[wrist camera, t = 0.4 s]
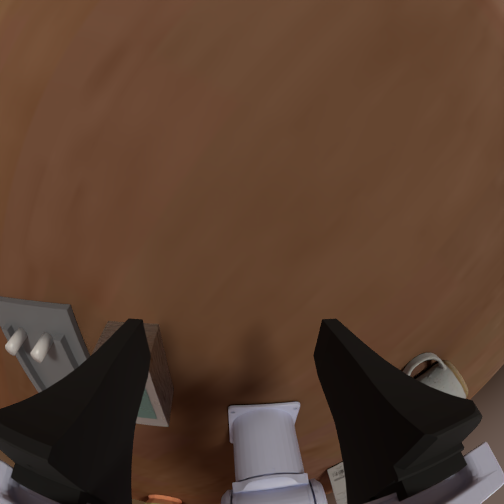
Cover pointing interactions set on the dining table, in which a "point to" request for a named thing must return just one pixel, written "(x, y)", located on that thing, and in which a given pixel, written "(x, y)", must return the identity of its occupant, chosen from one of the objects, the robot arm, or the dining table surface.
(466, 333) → the dining table surface
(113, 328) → the block
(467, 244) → the dining table surface
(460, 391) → the ceramic mug
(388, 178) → the dining table surface
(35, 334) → the grooved peg plate
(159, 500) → the potted cactus
